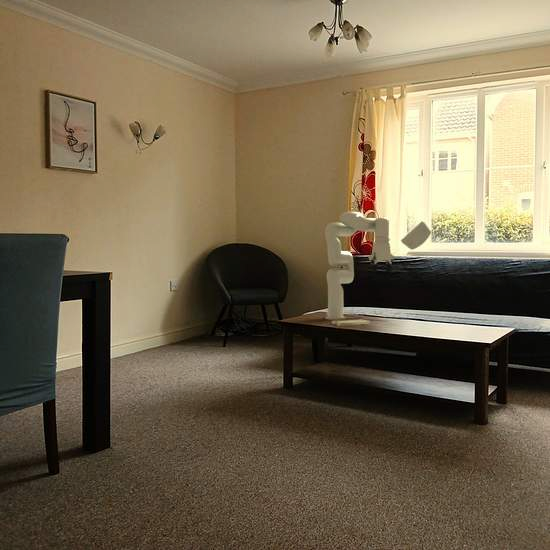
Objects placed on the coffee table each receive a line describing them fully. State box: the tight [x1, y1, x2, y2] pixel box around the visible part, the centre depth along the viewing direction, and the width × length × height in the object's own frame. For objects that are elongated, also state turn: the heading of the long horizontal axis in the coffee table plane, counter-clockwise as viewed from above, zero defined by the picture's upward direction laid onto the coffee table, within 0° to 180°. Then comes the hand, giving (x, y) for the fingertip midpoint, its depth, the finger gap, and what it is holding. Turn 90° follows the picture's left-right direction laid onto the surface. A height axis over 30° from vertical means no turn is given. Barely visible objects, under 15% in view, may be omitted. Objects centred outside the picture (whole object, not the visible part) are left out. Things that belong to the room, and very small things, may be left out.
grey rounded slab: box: [400, 221, 432, 251], centre depth 319 cm, size 17×5×10 cm
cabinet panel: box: [331, 316, 372, 327], centre depth 326 cm, size 10×20×4 cm, turn 118°
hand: (381, 271), depth 308 cm, fingers open, 9 cm apart
